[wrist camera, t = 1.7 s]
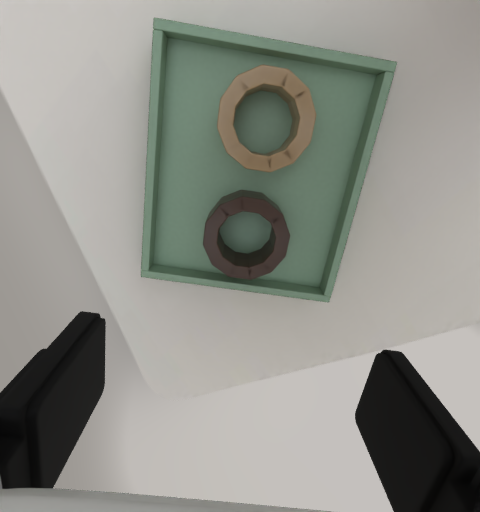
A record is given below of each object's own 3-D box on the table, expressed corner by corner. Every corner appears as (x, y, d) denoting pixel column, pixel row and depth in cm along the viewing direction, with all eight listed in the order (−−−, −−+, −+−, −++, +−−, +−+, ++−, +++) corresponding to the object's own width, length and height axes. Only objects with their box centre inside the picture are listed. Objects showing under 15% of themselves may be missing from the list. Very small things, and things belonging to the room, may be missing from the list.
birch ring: (226, 67, 21) (224, 57, 19) (314, 83, 22) (325, 75, 19) (215, 160, 23) (212, 163, 21) (295, 172, 24) (303, 177, 21)
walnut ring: (212, 184, 24) (208, 191, 21) (290, 196, 24) (297, 204, 22) (203, 258, 26) (199, 273, 23) (275, 268, 27) (279, 284, 24)
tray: (161, 28, 21) (153, 17, 19) (383, 68, 22) (397, 61, 20) (147, 266, 27) (140, 277, 25) (322, 291, 28) (329, 302, 26)
